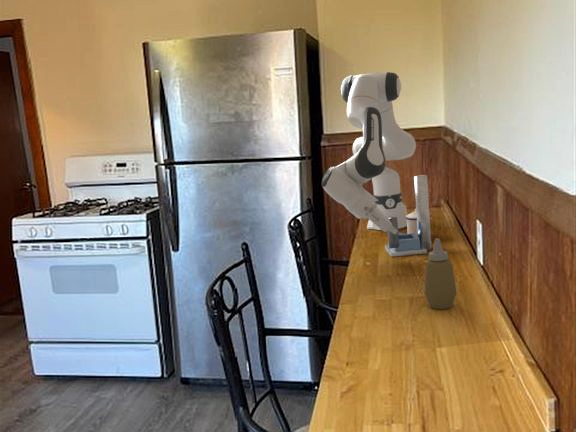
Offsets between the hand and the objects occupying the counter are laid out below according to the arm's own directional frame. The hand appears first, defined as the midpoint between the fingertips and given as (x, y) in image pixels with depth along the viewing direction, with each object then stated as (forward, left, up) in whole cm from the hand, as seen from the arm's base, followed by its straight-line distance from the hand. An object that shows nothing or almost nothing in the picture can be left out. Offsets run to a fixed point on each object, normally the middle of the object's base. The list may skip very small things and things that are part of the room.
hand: (394, 230), depth 198 cm
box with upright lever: (-15, +7, -10) cm, 19 cm away
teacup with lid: (-29, +14, -10) cm, 34 cm away
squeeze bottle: (+46, +2, -10) cm, 48 cm away
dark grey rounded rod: (0, -1, -5) cm, 5 cm away
